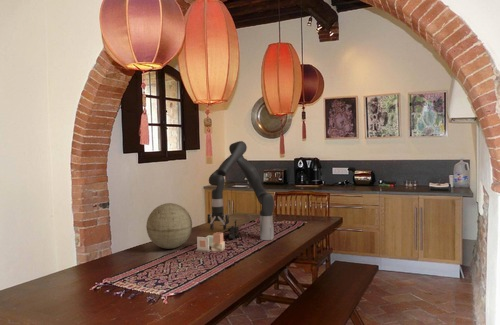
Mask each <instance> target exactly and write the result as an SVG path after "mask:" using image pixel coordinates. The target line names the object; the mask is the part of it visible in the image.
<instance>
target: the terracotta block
mask: <svg viewBox="0 0 500 325" xmlns="http://www.w3.org/2000/svg"><path fill="white" fill-rule="evenodd" d="M212 235H213V243H218V244H221V243H222V242H223V241H224V232H220V231H219V232H217V231H216V232H214V233H212Z"/></svg>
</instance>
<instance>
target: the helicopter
mask: <svg viewBox="0 0 500 325" xmlns="http://www.w3.org/2000/svg"><path fill="white" fill-rule="evenodd" d="M234 220H235V221H234V226H233V225H232V226H230V225H228V226H227V227H226V230H227V232H228V233H227V232H225V233H224V232H223V235H224V238H227V239H230V240H234V239H235V238H236V239H238V238H240V237H241V235H242V233H240V232H239V233H238V231H239V229H241V230H245V231H247V229H245V228H241V227H240V224H238V225H237V219H234ZM243 225H244V223H243V224H241V226H243ZM219 226H220V227H223V224H222V225H219ZM221 231H223V229H220V230H217V231H216V232H219V233H220V232H221Z"/></svg>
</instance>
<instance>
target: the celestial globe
mask: <svg viewBox="0 0 500 325" xmlns="http://www.w3.org/2000/svg"><path fill="white" fill-rule="evenodd" d="M145 225H146V226H145V227H146V233H147V236H148V238H149V240H150V241H151V242H152V243H153V244H154V245H156V246H157V247H159V248H162V249H170V250H171V249H176V248H178V247H180V246H182V245H183V244H184V243H186V242H187V240H188V239H189V238H190V236H191V234H192V229H193V221H192V216H191V215H190V213H189V212H188V210H186V208H185V207H183V206H182V205H181V204H180V205H179V204H178V203H177V204H176V203H174V202H173V203H172V202H167V203H163V204H160V205H158V206H157V207H155V208H154V209H153V210H152V211H151V212H150V214H149V215H148V217H147V220H146V224H145Z"/></svg>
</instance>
